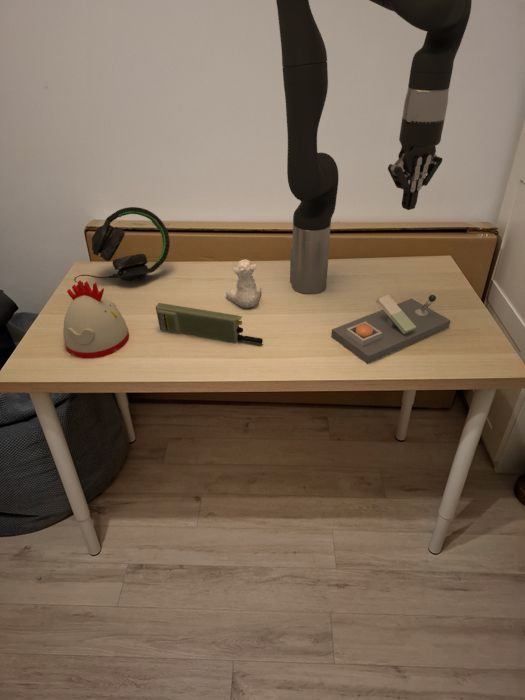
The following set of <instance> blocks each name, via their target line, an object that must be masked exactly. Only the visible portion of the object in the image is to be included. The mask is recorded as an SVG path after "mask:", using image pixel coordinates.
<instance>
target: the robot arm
mask: <svg viewBox="0 0 525 700" xmlns="http://www.w3.org/2000/svg"><path fill="white" fill-rule="evenodd" d="M368 1H370V2H371V3H374V4H376V5H378V6H380V7H381V8H385V9H386V10H389V11H392V12H394V13H395V14H396V15H398V16H399V17H400V18H401V19H402V20H404V21H405V22H407V23H408V24H409V25H411V26H413V27H414V28H416V29H419V30H420V31H424V32H426V35H425V39H424V41H423V45H422V46H421V48H420V49H418V50H417V51H416V52H415V53H414V55H413V57H412V61H411V67H410V70H409V71H410V73H409V79H408V86H407V91H406V94H405V95H406V96H405V99H404V103H403V110H402V117H401V123H400V132H399V139H398V140H399V143H400V145H401V147H400V151H399V152H398V155H397V156H398V159H397V160H396V161H395V163H393V164H392V163H389V165H388V166H387V171H388V172H389V175H390V176H391V178H392V181H393V183H394V185H395V187H396V188H398V189H400V190H403V191H402V192H403V193H402V199H401V207H402V208H403V209H405V210H407V211H410V210H414V209H415V208H416V206H417V203H418V198H419V192H420V190H422V187H423V186H424V187H425V186H428V184H429V183H430V182H431V180H432V178H433V177H434V175H435V173H436V172H437V170H438V169H439V167H440V165H442V162H443V157H440V156H437V154H436V152H437V148H436V146H437V145H439V144H440V143H441V141H442V134H443V130H444V129H443V128H444V124H445V120H446V114H447V109H448V104H449V91H450V86H451V85H450V84H451V80H452V77H453V76H452V75H453V69H454V61H455V58H456V55H457V53H458V51H459V49H460V45H461V44H462V41H463V38H464V35H465V32H466V29H467V27H468V24H469V19H470V15H471V11H472V4H473V3H472V0H368ZM275 2H276V7H277V17H278V27H279V38H280V46H281V48H280V49H281V65H282V78H283V89H284V90H283V91H284V98H285V99H284V100H285V110H286V111H285V114H286V129H287V130H286V131H287V161H286V162H287V164H286V165H287V166H286V167H287V171H286V173H287V183H288V187H289V190H290V191H291V194H292V196H294V197H295V199H297V200H298V201H300V203H299V204H298V206H297V208H296V209H295V210H294V213H293V217H292V218H293V219H292V248H291V249H290V254H289V255H290V262H289V263H290V264H289V265H290V266H289V268H290V269H289V282H290V283H291V287H292V289H293V290H294V291H296V292H298V293H302V294H307V295H308V294H309V295H310V294H311V295H314V294H318V293H321V292H323V291H324V290H325V289H327V284H328V283H327V282H328V280H327V279H328V267H329V265H328V264H329V254H330V253H329V252H330V240H331V227H332V226H331V225H332V218H333V215H334V213H335V211H336V205H337V197H338V189H339V188H338V187H339V169H338V165H337V163H336V161H335V159H334V158H333V157H332V156H331V155H330V154H328V153H326V152H318V130H319V126H320V121H321V117H322V114H323V110H324V109H325V108H324V107H325V103H326V99H327V96H328V95H327V94H328V88H329V86H328V85H329V75H328V73H329V71H328V55H327V49H326V45H325V41H324V39H323V36H322V33H321V31H320V29H319V26H318V25H317V22H316V20H315V18H314V15H313V12H312V9H311V5H310V1H309V0H275Z"/></svg>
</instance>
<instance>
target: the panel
mask: <svg viewBox="0 0 525 700" xmlns="http://www.w3.org/2000/svg"><path fill="white" fill-rule="evenodd" d="M396 304H397V305H398V307H399V308H400V309H401V310H402V311H403V312H404V313H405V315H406V316H407V317H408V318H409V319H410V320H411V321H412V323H413V324H414V325H415V326H416V328H415V330H413V331H410V332H408V333H406V334H403V333H402V331H401V330H400V329H399V328H398V327H397V326H396V324H395V323H394V322H393V321H392V320H391V318H390V317H389V316H388V315H387V314H386V313H385V311H384V310H383V309H381V310H379V311H375V312H373V313H370V314H368V315H365V316H363V317H361V318H360V317H359V318H357V319H355V320H353V321H350V322H348V323H345V324H342V325H340V326H337V327H335V328H334V327H333V328H332V329H331V335H330V336H331V338H332V339H333V340H335V341H336V342H338V343H339V345H341V346H343V347H344V348H346V349H347V350H348V351H349V352H351V353H352V354H353V355H355V356H356V357H357V358H358V359H360V360H362V361H363V362H365V363H366V364H367V365H368V364H370V363H373V362H375V361H377V360H379V359H381V358H383V357H386V356H388V355H391V354H392V353H394V352H395V353H396V352H397V351H400V350H402V349H404V348H406V347H408V346H411V345H413V344H415V343H417V342H418V343H419V342H420V341H422V340H425V339H427V338H429V337H431V336H433V335H435V334H438V333H440V332H442V331H445V330H447V329H449V328H450V325H451V323H452V322H451V319H449V318H447V317H445V316H444V315H442V314H440V313H438V312H437V311H435V310H433V309H431V308H430V307H428V308H427V309H426V310H425V311H424V312H422V311H421V308H422V307H423V306H424V304H423V303H421V302H419V301H418V300H415V299H413V298H412V297H411V298H409V299H406V300H405V301H404V300H403V301H402V302H399V303H396ZM360 324H367V325H370V326H372V328H373V333H372V336H369V337H367V338H364V339H363V338H362V337H360V336H359V335H357V334H356V327H357V326H358V325H360Z"/></svg>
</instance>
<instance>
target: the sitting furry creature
mask: <svg viewBox="0 0 525 700" xmlns="http://www.w3.org/2000/svg"><path fill="white" fill-rule="evenodd" d="M257 267H258V265H257V263H256V264H255V263H253V262H252V261H251V260H249V259H241V260H239V261H238V262H237V263H236V265H235V266H234V267H233V268H232V270H233V271H234V274H236V276H237V278H238V279H237V281H236V288H237V289H232V288H231V289H228V290H226V291H225V296H226V298H227V299H228V301H231V302H232V303H233V304H236V305H237V306H239V307H241V308H243V309H249V308H253V307H255V306H257V304H258V302H259V300H260V298H261V294H262V287H261V286H257V283H256V280H255V279H254V275H253V273H254V272H255V271H256V269H257Z"/></svg>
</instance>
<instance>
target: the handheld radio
mask: <svg viewBox="0 0 525 700" xmlns="http://www.w3.org/2000/svg"><path fill="white" fill-rule="evenodd" d="M155 311H156V317H157V321H158V327H159V330H160V331H164V332H169V333H174V334H180V335H186V336H191V337H196V338H203V339H209V340H213V341H214V340H215V341H220V342H226V343H229V344H230V343H231V344H238V343H239V342H240V341H244V342H247V343H253V344H258V345H262V344H263V343H264V340H263V338H261V337H255V336H249V335H243V334H241V333H244V328H243V327H241V326H242V325H243V321H242V318H243V316H242V315H237V314H232V313H231V314H230V313H225V312H219V311H212V310H206V309H200V308H194V307H188V306H181V305H175V304H169V303H163V302H158V303H157V304H156V305H155ZM237 342H238V343H237Z"/></svg>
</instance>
